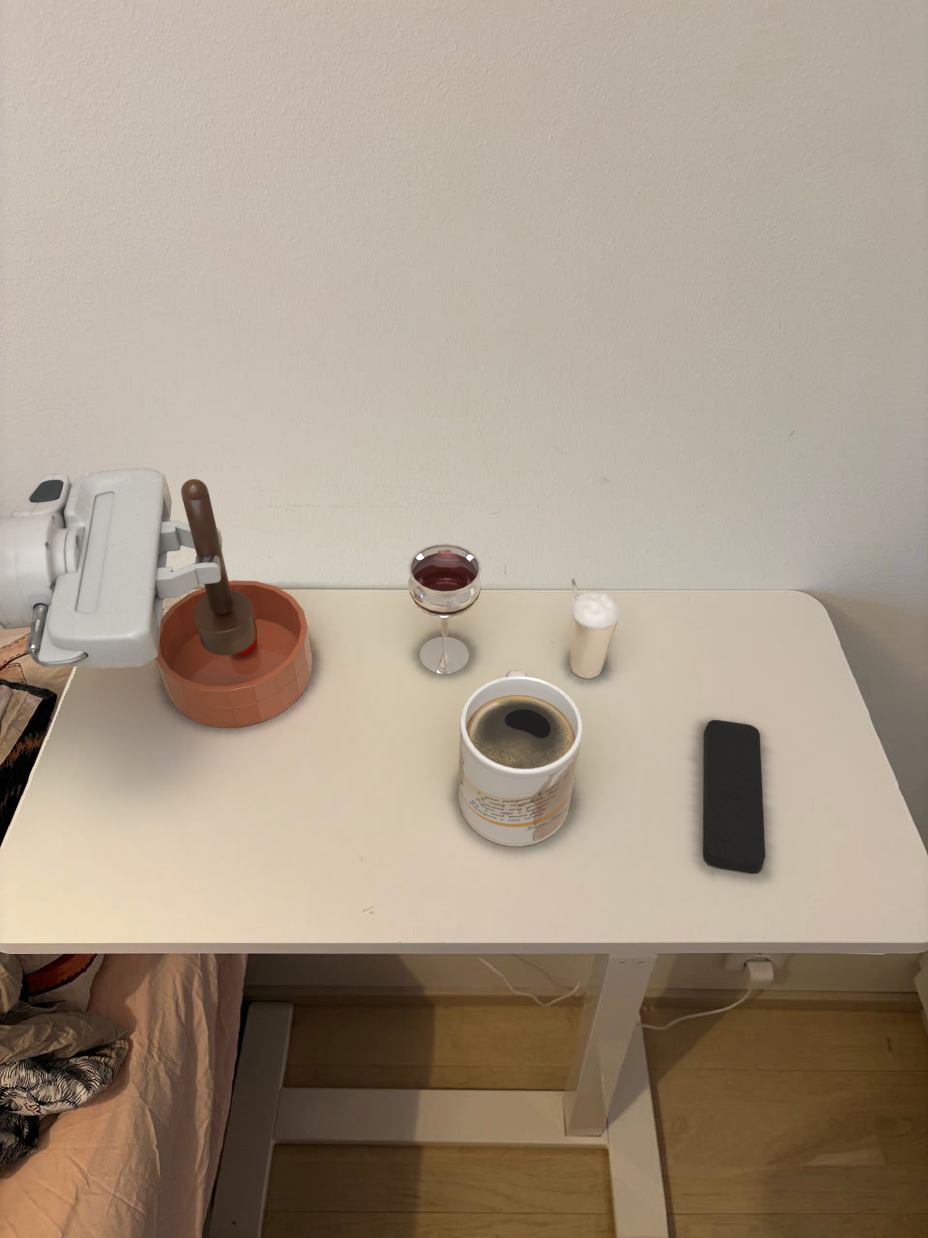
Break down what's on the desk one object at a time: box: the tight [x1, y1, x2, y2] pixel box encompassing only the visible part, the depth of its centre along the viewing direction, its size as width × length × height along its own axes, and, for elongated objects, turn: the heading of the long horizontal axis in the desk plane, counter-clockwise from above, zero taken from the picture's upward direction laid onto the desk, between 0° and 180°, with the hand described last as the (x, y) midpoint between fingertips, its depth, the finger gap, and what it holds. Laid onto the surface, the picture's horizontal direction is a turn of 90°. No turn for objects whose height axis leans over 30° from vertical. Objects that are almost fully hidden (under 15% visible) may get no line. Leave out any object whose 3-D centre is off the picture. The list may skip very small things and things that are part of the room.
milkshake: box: [569, 578, 621, 680], centre depth 90 cm, size 5×5×10 cm
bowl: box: [154, 579, 313, 729], centre depth 90 cm, size 14×14×6 cm
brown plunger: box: [180, 478, 257, 655], centre depth 76 cm, size 5×5×17 cm
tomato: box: [236, 636, 257, 656], centre depth 92 cm, size 3×3×3 cm
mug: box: [458, 669, 584, 847], centre depth 79 cm, size 10×12×11 cm
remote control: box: [702, 719, 766, 874], centre depth 82 cm, size 5×2×15 cm
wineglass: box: [408, 543, 482, 675], centre depth 90 cm, size 7×7×12 cm
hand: (220, 554), depth 76 cm, fingers closed on brown plunger
